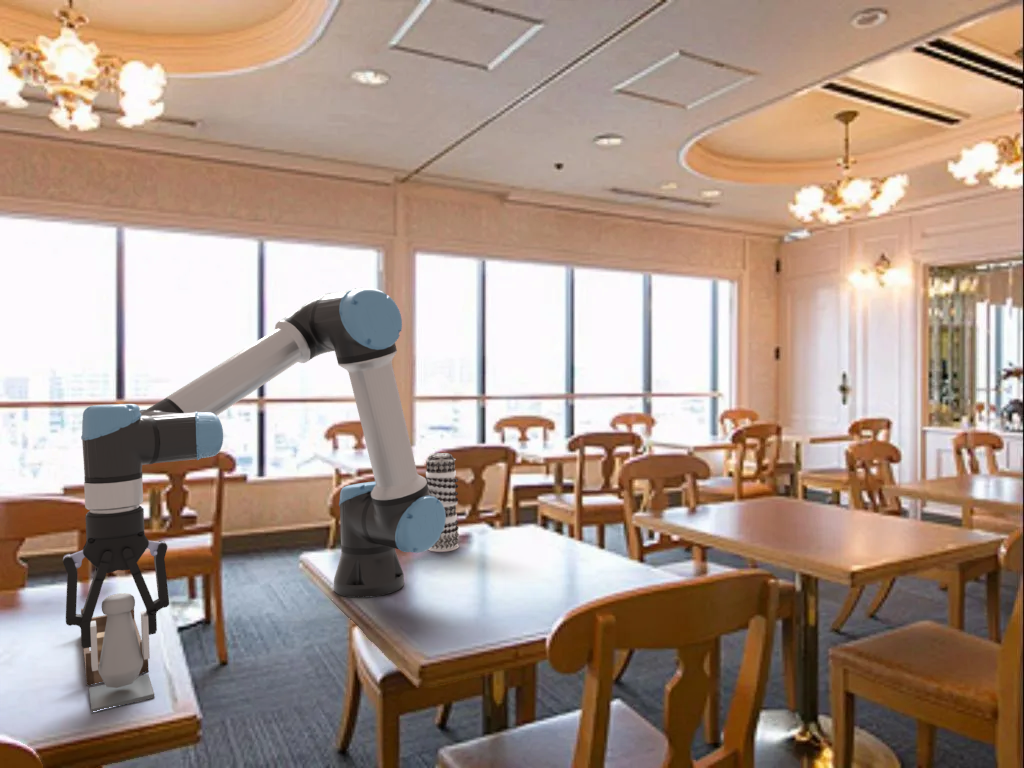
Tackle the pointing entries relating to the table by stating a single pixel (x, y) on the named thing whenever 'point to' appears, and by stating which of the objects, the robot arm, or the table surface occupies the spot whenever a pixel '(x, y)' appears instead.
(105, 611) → the salt shaker
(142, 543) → the robot arm
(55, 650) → the table surface
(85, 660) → the open rectangular wooden frame
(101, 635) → the offcut
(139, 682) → the coaster
